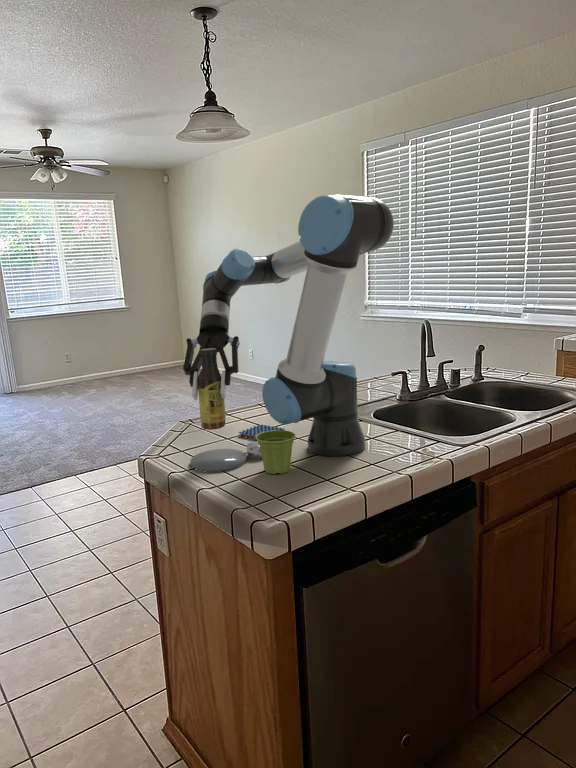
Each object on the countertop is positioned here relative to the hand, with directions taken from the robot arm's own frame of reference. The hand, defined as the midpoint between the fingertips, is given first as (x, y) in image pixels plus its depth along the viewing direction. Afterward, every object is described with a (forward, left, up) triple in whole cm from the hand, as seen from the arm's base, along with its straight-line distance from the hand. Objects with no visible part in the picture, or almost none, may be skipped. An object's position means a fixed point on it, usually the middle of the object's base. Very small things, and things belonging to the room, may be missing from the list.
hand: (208, 396), depth 137 cm
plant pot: (-16, -3, -18) cm, 25 cm away
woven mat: (+2, -27, -19) cm, 33 cm away
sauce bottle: (+2, -3, -9) cm, 10 cm away
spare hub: (-6, -11, -18) cm, 22 cm away
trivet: (+1, -3, -18) cm, 18 cm away
